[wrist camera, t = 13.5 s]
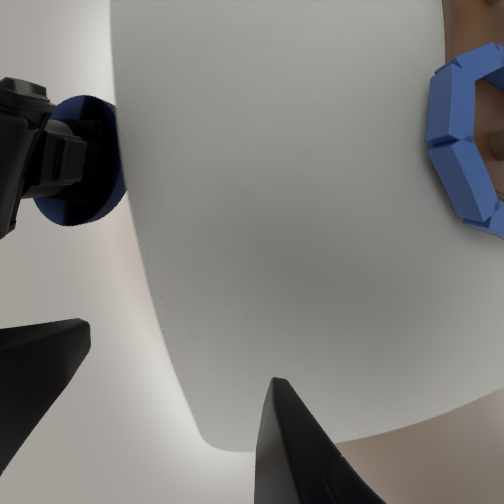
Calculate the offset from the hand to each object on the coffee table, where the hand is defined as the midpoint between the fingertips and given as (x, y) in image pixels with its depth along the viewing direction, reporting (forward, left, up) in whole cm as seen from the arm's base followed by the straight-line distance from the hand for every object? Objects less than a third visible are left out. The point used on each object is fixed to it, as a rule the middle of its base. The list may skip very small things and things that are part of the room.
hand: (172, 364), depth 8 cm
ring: (+15, +12, -8) cm, 21 cm away
